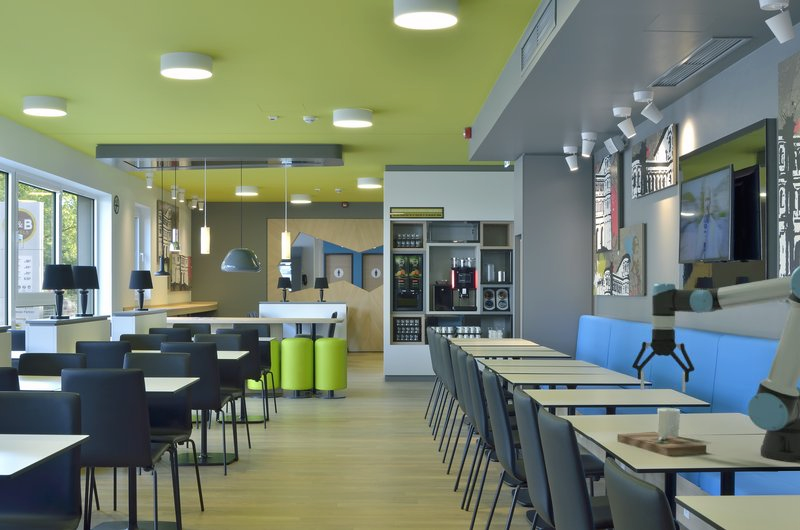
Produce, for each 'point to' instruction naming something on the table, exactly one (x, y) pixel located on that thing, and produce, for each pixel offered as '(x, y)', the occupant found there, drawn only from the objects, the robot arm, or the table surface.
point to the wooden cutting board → (661, 443)
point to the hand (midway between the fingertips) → (662, 390)
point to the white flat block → (663, 424)
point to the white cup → (672, 421)
